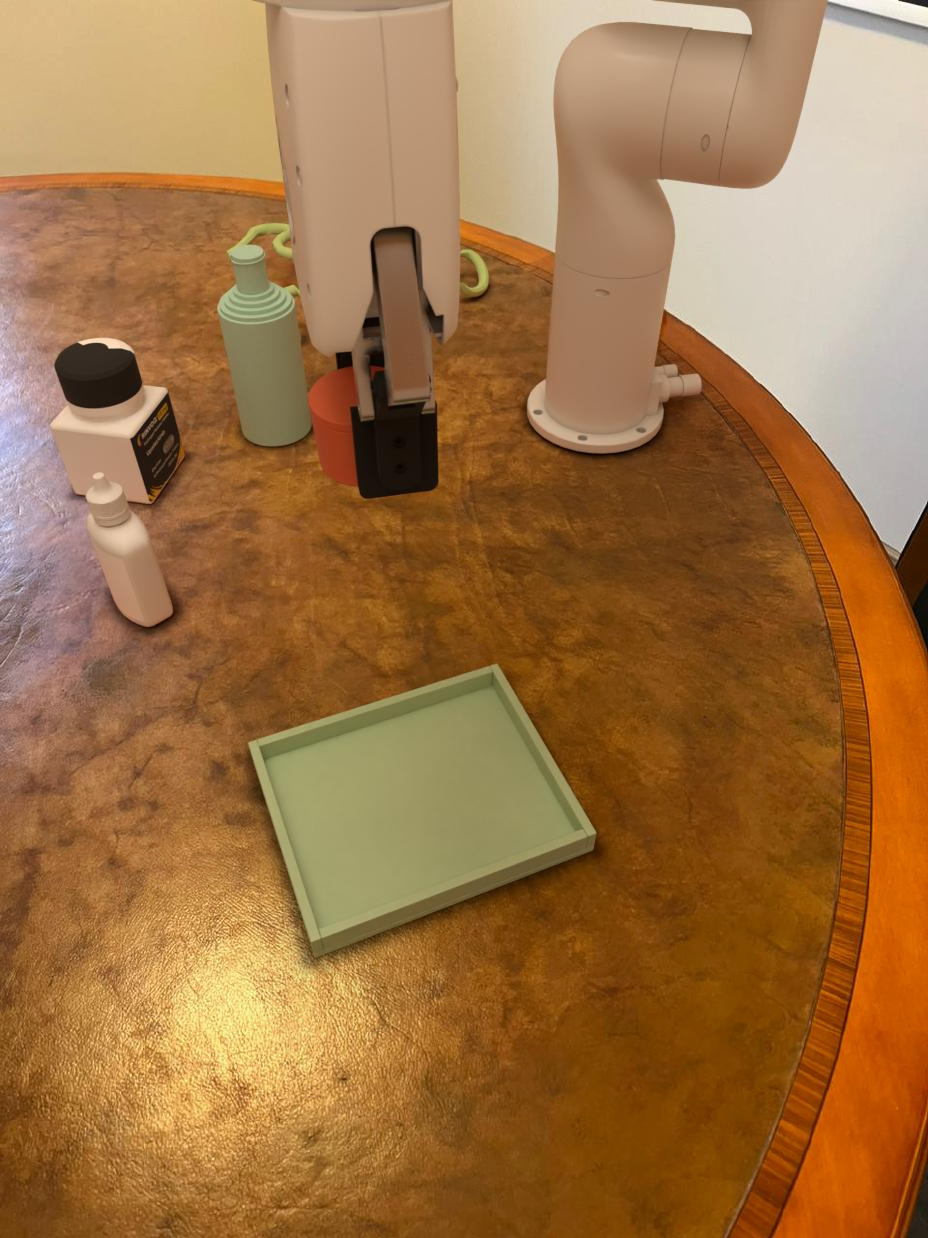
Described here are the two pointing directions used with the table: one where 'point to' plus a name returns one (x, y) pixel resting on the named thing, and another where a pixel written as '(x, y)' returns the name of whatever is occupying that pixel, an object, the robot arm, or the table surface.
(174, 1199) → the table surface
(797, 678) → the table surface
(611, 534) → the table surface
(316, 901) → the tray
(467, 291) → the figurine
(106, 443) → the medicine bottle
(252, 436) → the bottle
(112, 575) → the eye dropper bottle
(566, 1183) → the table surface
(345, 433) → the cap
